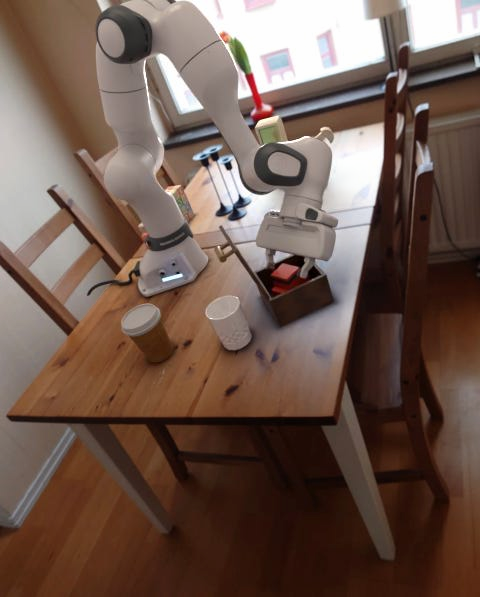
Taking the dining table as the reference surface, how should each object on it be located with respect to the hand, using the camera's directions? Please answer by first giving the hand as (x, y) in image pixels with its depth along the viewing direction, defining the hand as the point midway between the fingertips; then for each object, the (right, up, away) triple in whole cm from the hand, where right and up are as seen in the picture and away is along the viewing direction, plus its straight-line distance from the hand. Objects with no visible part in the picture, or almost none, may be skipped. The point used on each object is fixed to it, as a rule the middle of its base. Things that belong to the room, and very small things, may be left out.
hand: (285, 273), depth 107 cm
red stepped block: (+3, -5, +5) cm, 7 cm away
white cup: (-11, -15, +1) cm, 19 cm away
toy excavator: (+16, +31, +49) cm, 60 cm away
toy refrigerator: (+6, +37, +62) cm, 72 cm away
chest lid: (-9, +3, -4) cm, 10 cm away
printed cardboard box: (-34, +17, +58) cm, 70 cm away
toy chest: (+3, -6, +5) cm, 8 cm away
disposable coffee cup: (-29, -19, +7) cm, 35 cm away
